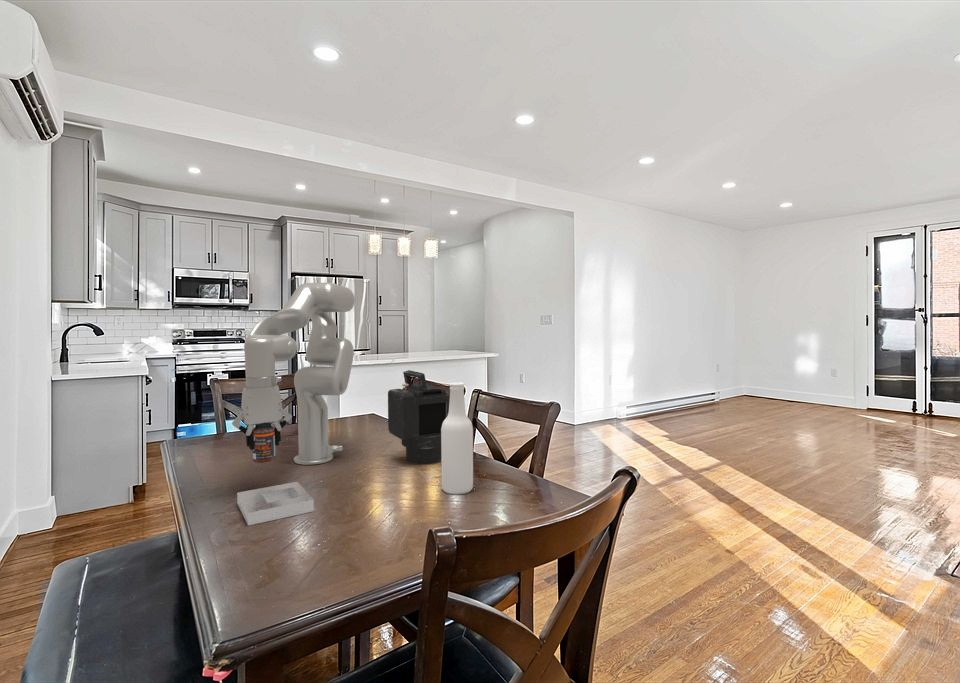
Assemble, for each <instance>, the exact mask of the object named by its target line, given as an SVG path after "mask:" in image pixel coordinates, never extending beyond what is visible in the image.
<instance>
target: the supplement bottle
mask: <svg viewBox="0 0 960 683" xmlns="http://www.w3.org/2000/svg"><path fill="white" fill-rule="evenodd" d="M254 426H255V427H253V429H252V432H251V433H252V435H253V448H254V449H253V450H251V451H252V462H254V463H256V464H266V463H270V462H273V461H274V460H275V459H276V457H277V455H276V454H277V453H276V452H277V451H276V445H275V427H274V426H272V423H261V424H257V425H254Z"/></svg>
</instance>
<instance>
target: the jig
mask: <svg viewBox="0 0 960 683" xmlns="http://www.w3.org/2000/svg"><path fill="white" fill-rule="evenodd" d="M236 500H237V501H236V502H237V506H238V508H239V510H240V512H241V514H242V516H243V519H244V520H245V523H246V524H247V526H254V525H257V524H262V523H267V522H272V521H275V520H281V519H285V518H290V517H295V516H298V515H303V514H308V513H312V512H314V511H315V503H314V502H315V499H314V498H313V497H312V496H311V495H310V493H308V492H307V490H306V489H305V488H304V487H303V486H302V485H301V484H300V483H299V482H298V481H294V482H288V483H283V484H277V485H272V486H271V485H270V486H266V487H261V488H256V489H255V488H254V489H250V490H245V491H240V492H237V493H236Z"/></svg>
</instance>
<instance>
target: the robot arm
mask: <svg viewBox="0 0 960 683" xmlns="http://www.w3.org/2000/svg"><path fill="white" fill-rule="evenodd" d="M355 299H356V298H355V295H354V293H353V291H352V289H350V288H349V287H346V286H343V285H341V284H340V285H339V284H337V283H333V282H305V283H302V284H299V285H298V286H297V288H296V289H295V290H294V292H293V293H292V295H291V296H290V298H289V299H288V301H287V302H286V304H285V305H284V306H283V307H282V309H280V310H278V311H276V312H274V313H273V314H270V315H269V316H267V317H265V318H264V319H262V320H260V321H259V322H258V323H256V325H255V326H254V327H252V328H253V329H252V330H251V331H250V332H249V334H248V335H247V337H246V339H245V340H244V345H243V352H244V369H245V371H244V372H245V387H243V388H242V391H241V393H242V394H241V408H240V409H241V411H240V413H239V414H238V415H237V417H235V419H234V420H233V421H232V422H231V425H232V426H233V427H234V428H236V429H237V430H239V431H240V432H242V433H243V434H245V441H246V442H245V443H246V447H248V448H249V449H250V450H251V451H252V450H253V449H254V448H253V435H252V430H253V429H254V426H255V425H257V424H261V423H271V424H273V427H274V429H275V446H277V447H278V446H279V445H280V442H281V441H282V439H281V438H282V437H281V434H282V433H281V431H282V430H283V428H284V427H285V426H286V425H287V424H288V423H289V421H290V420H291V419H292V418H293V415H292V414H290V412H288V411H287V410H286V409H285V408H283V404H282V402H283V401H282V397H281V391H280V388H279V385H277V384H278V382H279V383H280V382H282V376H277V375H276V362H288V361H290V360H291V359H293V358H294V357H295V356H296V354H297V350H298V345H297V342H296V340H295V339H294V338H293V337H291V336H289V335H285V334H288V333H289V334H290V333H292V332H295V331H298V330H300V329H303V328H305V327H306V326H307V325H308V324H309V321H310V320H311V330H310V334H309V338H308V342H307V345H306V346H307V347H306V352H305V358H306V359H305V360H306V362H308V363H309V364H311V365H312V366H304V367H300V368H299V369H298V370H297V371H295V374H294V377H293V384H294V389H295V390H294V391H295V392H296V393H295V394H296V398H297V399H296V402H297V427H298V428H297V429H298V430H297V431H298V434H297V435H298V440H297V441H298V454H297V455H295V456H294V457H293V462H294V463H295V464H298V465H304V466H305V465H307V466H310V465H311V466H312V465H319V464H320V465H321V464H324V463H328V462H330V461H332V460H333V459H334V452H343V451H344V450H343V449H344V448H343V445H342V444H341V445H336V444H334V445H330V444H329V421H328V420H329V415H328V414H329V412H328V411H329V410H328V405H327V403H326V400H325V399H324V397H323V396H341V395H343V394H344V393H345V392H346V391H347V389H348V387H349V386H348V385H349V381H350V376H351V370H352V367H353V361H354V354H355V353H354V352H355V351H354V350H355V349H354V346H353V343H352V342H351V341H350V340H349V339H348V338H345V337H337V331H338V327H337V324H336V322H335V320H334V319H333V318H332V316H331V315H330V314H329V313H347V312H350V311H351V310H352V309H353V308H354V306H355V302H356V300H355ZM283 416H284V417H283ZM241 421H242V422H243V423H244V425H245V426H244V425H242V424H241Z"/></svg>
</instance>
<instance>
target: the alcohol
mask: <svg viewBox="0 0 960 683" xmlns="http://www.w3.org/2000/svg"><path fill="white" fill-rule="evenodd" d="M464 385H465V383H464V382H461V381H453V382H449V396H450V401H449V413H448V416H447V417H446V419H445V420H444V421H443V423H442V428H441V463H440V464H441V489H442V490H443V492H444V493H447V494H449V495H458V496H459V495H466V494H468V493H470V492H471V491H472V490H473V487H474V428H473V427H474V426H473V422H472V421H471V420H470V418H469V417H468V415H467V413H466V402H465V392H464V390H465V387H464Z"/></svg>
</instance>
